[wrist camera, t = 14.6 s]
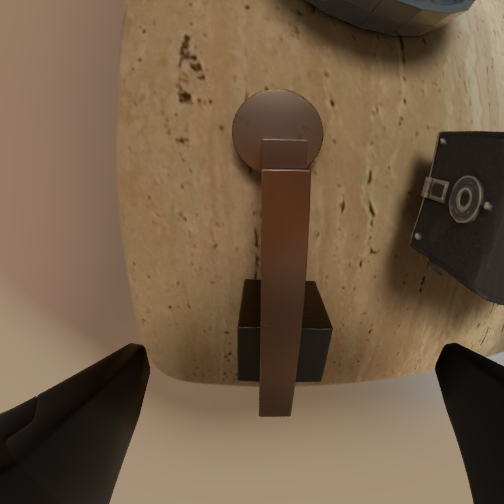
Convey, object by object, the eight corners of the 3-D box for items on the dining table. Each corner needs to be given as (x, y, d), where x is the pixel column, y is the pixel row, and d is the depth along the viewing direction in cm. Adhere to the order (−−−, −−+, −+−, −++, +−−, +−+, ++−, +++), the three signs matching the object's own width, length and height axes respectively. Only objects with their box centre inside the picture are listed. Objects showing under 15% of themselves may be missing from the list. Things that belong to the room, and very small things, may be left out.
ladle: (305, 338, 21) (319, 415, 14) (239, 338, 22) (229, 415, 14) (316, 98, 16) (352, 59, 8) (235, 96, 16) (215, 54, 9)
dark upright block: (308, 327, 21) (321, 382, 15) (243, 326, 21) (237, 381, 15) (315, 280, 20) (333, 328, 14) (244, 278, 20) (237, 326, 14)
